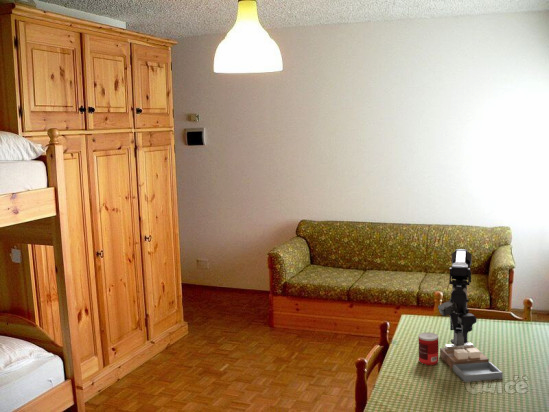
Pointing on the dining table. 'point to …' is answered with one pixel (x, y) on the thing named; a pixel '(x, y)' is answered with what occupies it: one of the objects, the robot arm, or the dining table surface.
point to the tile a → (461, 354)
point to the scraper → (458, 343)
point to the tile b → (473, 353)
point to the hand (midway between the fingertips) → (459, 332)
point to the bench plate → (452, 360)
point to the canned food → (428, 348)
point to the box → (477, 371)
